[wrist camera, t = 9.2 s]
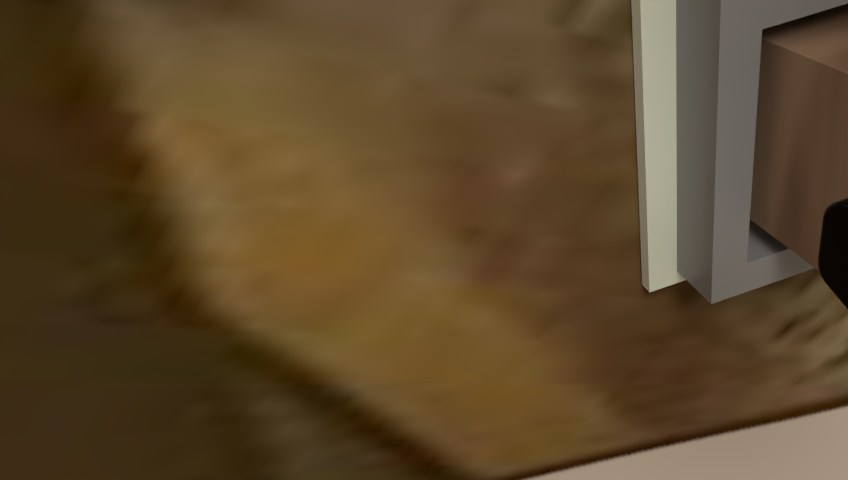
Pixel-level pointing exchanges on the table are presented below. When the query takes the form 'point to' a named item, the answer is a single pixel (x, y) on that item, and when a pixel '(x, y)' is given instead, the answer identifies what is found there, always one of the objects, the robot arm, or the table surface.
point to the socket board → (704, 142)
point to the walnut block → (801, 128)
